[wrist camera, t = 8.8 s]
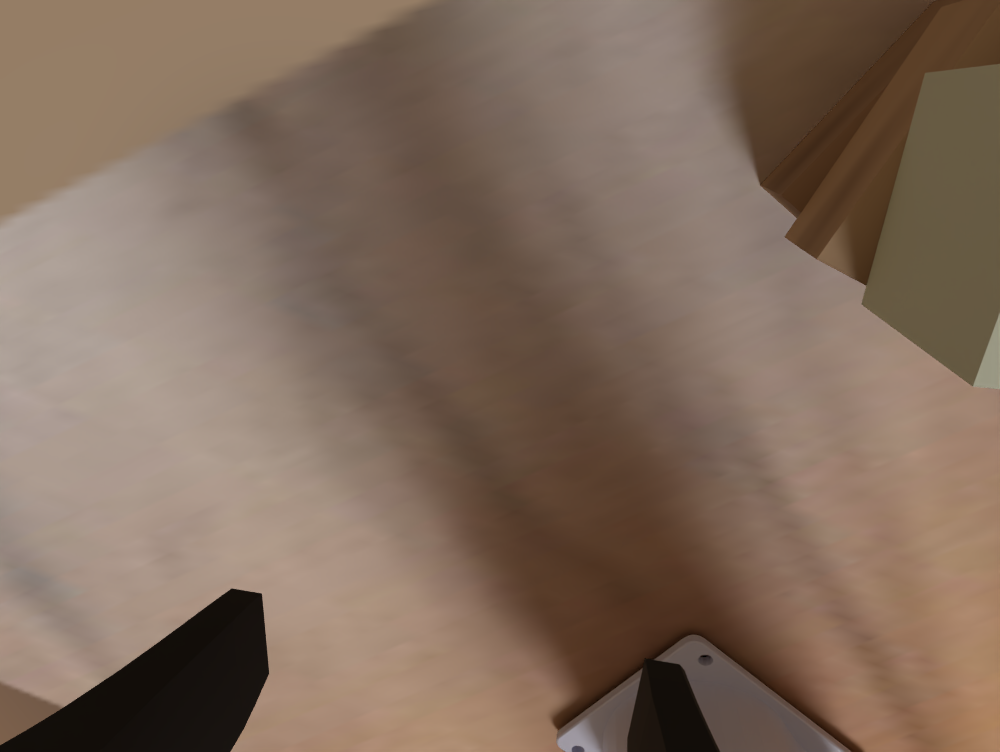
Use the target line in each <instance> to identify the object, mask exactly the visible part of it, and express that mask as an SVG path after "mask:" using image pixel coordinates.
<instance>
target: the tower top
mask: <svg viewBox="0 0 1000 752" xmlns="http://www.w3.org/2000/svg"><path fill="white" fill-rule="evenodd" d="M994 64H1000V0H962V1H959V2H956V3H953V4H950V5H946V6H943V7H941V8H940V10H939V11H938V13H937V14H936V15H935V17H934V18H933V20H932V21H931V23H930V24H929V26H928V27H927V29H926V30H925V32H924V33H923V35H922V36H921V37H920V39H919V40H918V42H917V43H916V45H915V46H914V48H913V49H912V51H911V52H910V54H909V55H908V57H907V58H906V59H905V61H904V62H903V64H902V65H901V67H900V68H899V70H898V71H897V73H896V74H895V76H894V77H893V79H892V80H891V82H890V83H889V84H888V86H887V87H886V89H885V90H884V92H883V93H882V95H881V96H880V98H879V99H878V101H877V102H876V104H875V105H874V106H873V108H872V109H871V111H870V112H869V114H868V115H867V117H866V118H865V120H864V121H863V123H862V124H861V126H860V127H859V128H858V130H857V131H856V133H855V134H854V136H853V137H852V139H851V140H850V142H849V143H848V145H847V146H846V148H845V149H844V150H843V152H842V153H841V155H840V156H839V158H838V159H837V161H836V162H835V164H834V165H833V167H832V168H831V170H830V171H829V173H828V174H827V175H826V177H825V178H824V180H823V181H822V183H821V184H820V186H819V187H818V189H817V190H816V192H815V193H814V195H813V196H812V197H811V199H810V200H809V202H808V203H807V205H806V206H805V208H804V209H803V211H802V212H801V214H800V215H799V217H798V218H797V219H796V221H795V222H794V224H793V225H792V227H791V228H790V230H789V231H788V233H787V234H786V236H785V238H787V239H788V240H790V241H791V242H792V243H794V244H795V245H797V246H798V247H800V248H801V249H803V250H804V251H805V252H807V253H808V254H810V255H811V256H813V257H814V258H816V259H817V260H819V261H821V262H823V263H825V264H827V265H829V266H830V267H832V268H834V269H836V270H838V271H840V272H842V273H844V274H846V275H847V276H849V277H851V278H853V279H855V280H857V281H859V282H861V283H863V284H864V285H866V286H867V282H868V279H869V275H870V271H871V268H872V264H873V260H874V257H875V253H876V249H877V246H878V242H879V239H880V235H881V231H882V228H883V224H884V220H885V217H886V213H887V209H888V206H889V202H890V199H891V195H892V191H893V188H894V184H895V180H896V177H897V173H898V169H899V166H900V162H901V159H902V155H903V151H904V148H905V144H906V140H907V137H908V133H909V129H910V126H911V122H912V119H913V115H914V111H915V108H916V104H917V100H918V97H919V93H920V89H921V86H922V82H923V79H924V75H925V73H928V72H937V71H945V70H953V69H961V68H970V67H978V66H986V65H994Z"/></svg>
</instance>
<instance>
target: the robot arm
mask: <svg viewBox="0 0 1000 752" xmlns="http://www.w3.org/2000/svg"><path fill="white" fill-rule="evenodd" d="M702 655H709V656H708V657H700V656H702ZM268 674H269V667H268V656H267V645H266V634H265V623H264V612H263V601H262V594H261V593H255V592H249V591H243V590H237V589H230V590H229V591H228V592H226V593H225V594H224V595H222V596H221V597H219V598H218V599H217V600H215V601H214V602H212V603H211V604H210V605H208V606H207V607H206V608H204V609H203V610H202V611H200V612H199V613H198V614H196V615H195V616H193V617H192V618H191V619H189V620H188V621H187V622H185V623H184V624H183V625H181V626H180V627H179V628H177V629H176V630H175V631H173V632H172V633H171V634H169V635H168V636H166V637H165V638H164V639H162V640H161V641H160V642H158V643H157V644H156V645H154V646H153V647H151V648H150V649H149V650H147V651H146V652H144V653H143V654H142V655H140V656H139V657H137V658H136V659H135V660H133V661H132V662H130V663H129V664H128V665H126V666H125V667H123V668H122V669H121V670H119V671H118V672H116V673H115V674H113V675H112V676H110V677H109V678H107V679H106V680H104V681H103V682H101V683H100V684H98V685H97V686H95V687H94V688H92V689H91V690H89V691H88V692H86V693H85V694H83V695H82V696H80V697H79V698H77V699H76V700H74V701H73V702H71V703H70V704H68V705H67V706H65V707H64V708H62V709H60V710H59V711H57V712H56V713H54V714H53V715H51V716H49V717H48V718H46V719H45V720H43V721H41V722H39V723H38V724H36V725H34V726H33V727H31V728H29V729H28V730H26V731H24V732H23V733H21V734H19V735H17V736H16V737H14V738H12V739H10V740H9V741H7V742H5V743H4V744H2V745H0V752H230V751H231V750H232V748H233V746H234V745H235V743H236V741H237V739H238V738H239V736H240V734H241V733H242V731H243V729H244V727H245V725H246V723H247V721H248V719H249V717H250V715H251V712H252V710H253V708H254V706H255V704H256V702H257V699H258V697H259V695H260V693H261V690H262V688H263V686H264V684H265V681H266V679H267V677H268ZM556 742H557V745H558V746H559V747H560V748H561V749H562V750H564V751H565V752H851V751H850V750H849V749H847V748H846V747H845V746H844V745H842V744H841V743H840V742H838V741H837V740H836V739H835V738H833V737H832V736H831V735H829V734H828V733H827V732H825V731H824V730H823V729H822V728H820V727H819V726H818V725H816V724H815V723H814V722H812V721H811V720H810V719H809V718H807V717H806V716H805V715H803V714H802V713H801V712H799V711H798V710H797V709H796V708H794V707H793V706H792V705H790V704H789V703H788V702H786V701H785V700H784V699H783V698H781V697H780V696H779V695H777V694H776V693H775V692H774V691H772V690H771V689H770V688H768V687H767V686H766V685H764V684H763V683H762V682H761V681H759V680H758V679H757V678H755V677H754V676H753V675H751V674H750V673H749V672H748V671H746V670H745V669H744V668H742V667H741V666H740V665H738V664H737V663H736V662H735V661H733V660H732V659H731V658H729V657H728V656H727V655H725V654H724V653H723V652H722V651H720V650H719V649H718V648H716V647H715V646H714V645H713V644H711V643H710V642H709V641H707V640H706V639H705V638H703V637H701V636H699V635H688V636H686V637H684V638H683V639H681V640H680V641H679V642H677V643H676V644H675V645H673V646H672V647H670V648H669V649H668V650H666V651H665V652H664V653H662V654H661V655H660V656H658V657H657V658H656V659H654V660H651V659H646V658H645V660H644V665H643V668H642V669H641V670H639V671H638V672H637V673H635V674H634V675H633V676H631V677H630V678H629V679H627V680H626V681H624V682H623V683H622V684H620V685H619V686H618V687H616V688H615V689H614V690H612V691H611V692H610V693H608V694H607V695H605V696H604V697H603V698H601V699H600V700H599V701H597V702H596V703H595V704H593V705H592V706H591V707H589V708H588V709H587V710H585V711H584V712H582V713H581V714H580V715H578V716H577V717H576V718H574V719H573V720H572V721H570V722H569V723H568V724H566V725H565V726H563V727H562V728H561V729H560V730H559V731H558V732H557V740H556Z"/></svg>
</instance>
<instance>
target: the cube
mask: <svg viewBox="0 0 1000 752" xmlns="http://www.w3.org/2000/svg"><path fill="white" fill-rule="evenodd" d="M862 305H863V306H864V307H866V308H867V309H868V310H870V311H871V312H872V313H874V314H875V315H877V316H878V317H879V318H881V319H882V320H883V321H885V322H886V323H887V324H889V325H890V326H891V327H893V328H894V329H896V330H897V331H898V332H900V333H901V334H902V335H904V336H905V337H906V338H908V339H909V340H910V341H912V342H913V343H914V344H916V345H917V346H919V347H920V348H921V349H923V350H924V351H925V352H927V353H928V354H929V355H931V356H932V357H933V358H935V359H936V360H938V361H939V362H940V363H942V364H943V365H944V366H946V367H947V368H948V369H950V370H951V371H952V372H954V373H955V374H956V375H958V376H959V377H961V378H962V379H963V380H965V381H966V382H967V383H969V384H970V385H971V386H973V387H982V388H993V389H1000V64H994V65H986V66H978V67H970V68H961V69H953V70H945V71H937V72H928V73H925V75H924V79H923V82H922V86H921V89H920V93H919V97H918V100H917V104H916V108H915V111H914V115H913V119H912V122H911V126H910V129H909V133H908V137H907V140H906V144H905V148H904V151H903V155H902V159H901V162H900V166H899V169H898V173H897V177H896V180H895V184H894V188H893V191H892V195H891V199H890V202H889V206H888V209H887V213H886V217H885V220H884V224H883V228H882V231H881V235H880V239H879V242H878V246H877V249H876V253H875V257H874V260H873V264H872V268H871V271H870V275H869V279H868V282H867V286H866V289H865V293H864V297H863V300H862Z"/></svg>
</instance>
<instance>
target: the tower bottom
mask: <svg viewBox="0 0 1000 752" xmlns="http://www.w3.org/2000/svg"><path fill="white" fill-rule="evenodd" d="M959 1H962V0H937V1H934V2H933V3H932V4H931V5H930V6H929V7H928V8H927V9H926V10H925V11H924V12H923V13H922V15H921V16H920V17H919V18H918V19H917V20H916V21H915V22H914V23H913V24H912V25H911V26H910V27H909V28H908V29H907V30H906V31H905V32H904V34H903V35H902V36H901V37H900V38H899V39H898V40H897V41H896V42H895V43H894V44H893V45H892V46H891V47H890V48H889V49H888V50H887V52H886V53H885V54H884V55H883V56H882V57H881V58H880V59H879V60H878V61H877V62H876V63H875V64H874V65H873V66H872V67H871V68H870V70H869V71H868V72H867V73H866V74H865V75H864V76H863V77H862V78H861V79H860V80H859V81H858V82H857V83H856V84H855V85H854V86H853V88H852V89H851V90H850V91H849V92H848V93H847V94H846V95H845V96H844V97H843V98H842V99H841V100H840V101H839V102H838V103H837V104H836V105H835V107H834V108H833V109H832V110H831V111H830V112H829V113H828V114H827V115H826V116H825V117H824V118H823V119H822V120H821V121H820V122H819V123H818V125H817V126H816V127H815V128H814V129H813V130H812V131H811V132H810V133H809V134H808V135H807V136H806V137H805V138H804V139H803V140H802V141H801V143H800V144H799V145H798V146H797V147H796V148H795V149H794V150H793V151H792V152H791V153H790V154H789V155H788V156H787V157H786V158H785V159H784V160H783V162H782V163H781V164H780V165H779V166H778V167H777V168H776V169H775V170H774V171H773V172H772V173H771V174H770V175H769V176H768V177H767V178H766V180H765V181H764V182H763V183H762V184H761V185H760V186H762V187H763V188H764V189H765V190H766V191H767V192H768V193H769V194H771V195H772V196H773V197H774V198H775V199H776V200H777V201H778V202H779V203H781V204H782V205H783V206H784V207H785V208H786V209H787V210H788V211H789V212H791V213H792V214H793V215H794V216H795V217H796V218H798V217H799V215H800V214H801V212H802V211H803V209H804V208H805V206H806V205H807V203H808V202H809V200H810V199H811V197H812V196H813V195H814V193H815V192H816V190H817V189H818V187H819V186H820V184H821V183H822V181H823V180H824V178H825V177H826V175H827V174H828V173H829V171H830V170H831V168H832V167H833V165H834V164H835V162H836V161H837V159H838V158H839V156H840V155H841V153H842V152H843V150H844V149H845V148H846V146H847V145H848V143H849V142H850V140H851V139H852V137H853V136H854V134H855V133H856V131H857V130H858V128H859V127H860V126H861V124H862V123H863V121H864V120H865V118H866V117H867V115H868V114H869V112H870V111H871V109H872V108H873V106H874V105H875V104H876V102H877V101H878V99H879V98H880V96H881V95H882V93H883V92H884V90H885V89H886V87H887V86H888V84H889V83H890V82H891V80H892V79H893V77H894V76H895V74H896V73H897V71H898V70H899V68H900V67H901V65H902V64H903V62H904V61H905V59H906V58H907V57H908V55H909V54H910V52H911V51H912V49H913V48H914V46H915V45H916V43H917V42H918V40H919V39H920V37H921V36H922V35H923V33H924V32H925V30H926V29H927V27H928V26H929V24H930V23H931V21H932V20H933V18H934V17H935V15H936V14H937V13H938V11H939V10H940V8H941V7H943V6H946V5H950V4H953V3H956V2H959Z"/></svg>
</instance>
